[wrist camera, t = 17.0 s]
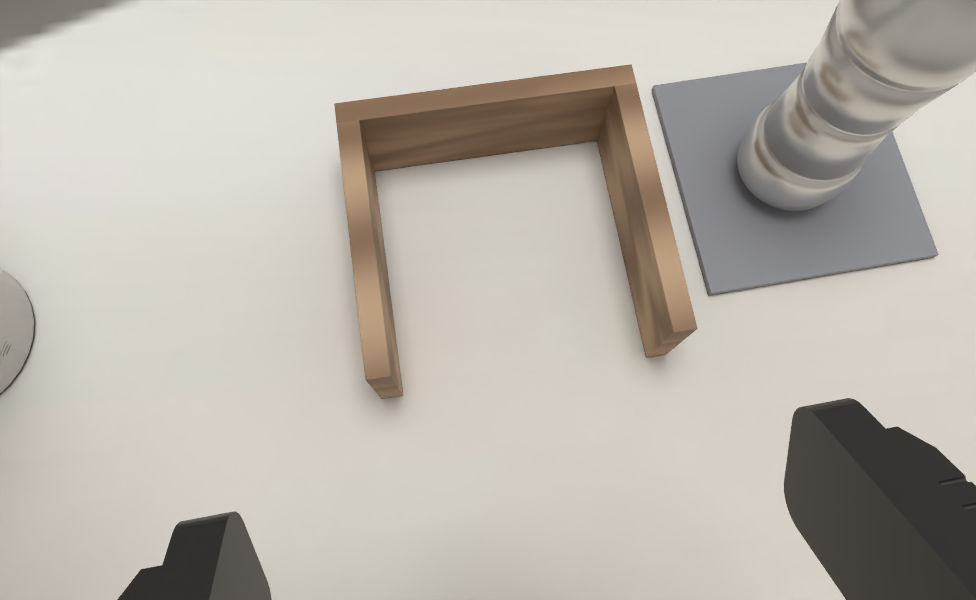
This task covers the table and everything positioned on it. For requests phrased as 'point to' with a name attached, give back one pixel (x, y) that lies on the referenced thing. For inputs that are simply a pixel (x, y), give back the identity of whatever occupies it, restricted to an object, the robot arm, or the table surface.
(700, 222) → the charcoal mat
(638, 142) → the walnut stall
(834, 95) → the plastic bottle
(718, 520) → the table surface
